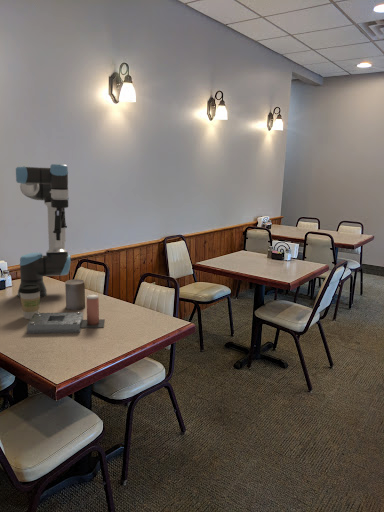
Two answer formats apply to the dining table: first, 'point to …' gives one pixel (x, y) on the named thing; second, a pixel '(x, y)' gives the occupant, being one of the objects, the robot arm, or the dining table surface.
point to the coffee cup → (30, 299)
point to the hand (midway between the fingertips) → (60, 244)
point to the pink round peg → (92, 309)
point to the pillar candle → (75, 294)
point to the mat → (100, 325)
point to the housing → (55, 323)
